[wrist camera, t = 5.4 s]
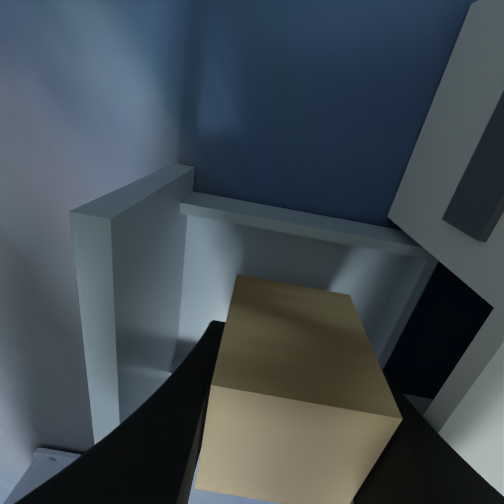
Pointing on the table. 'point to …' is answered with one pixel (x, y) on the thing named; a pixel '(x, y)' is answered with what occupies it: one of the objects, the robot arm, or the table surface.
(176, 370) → the robot arm
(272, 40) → the table surface
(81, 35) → the table surface
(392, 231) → the sliding drawer
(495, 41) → the player box
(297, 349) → the oak block
